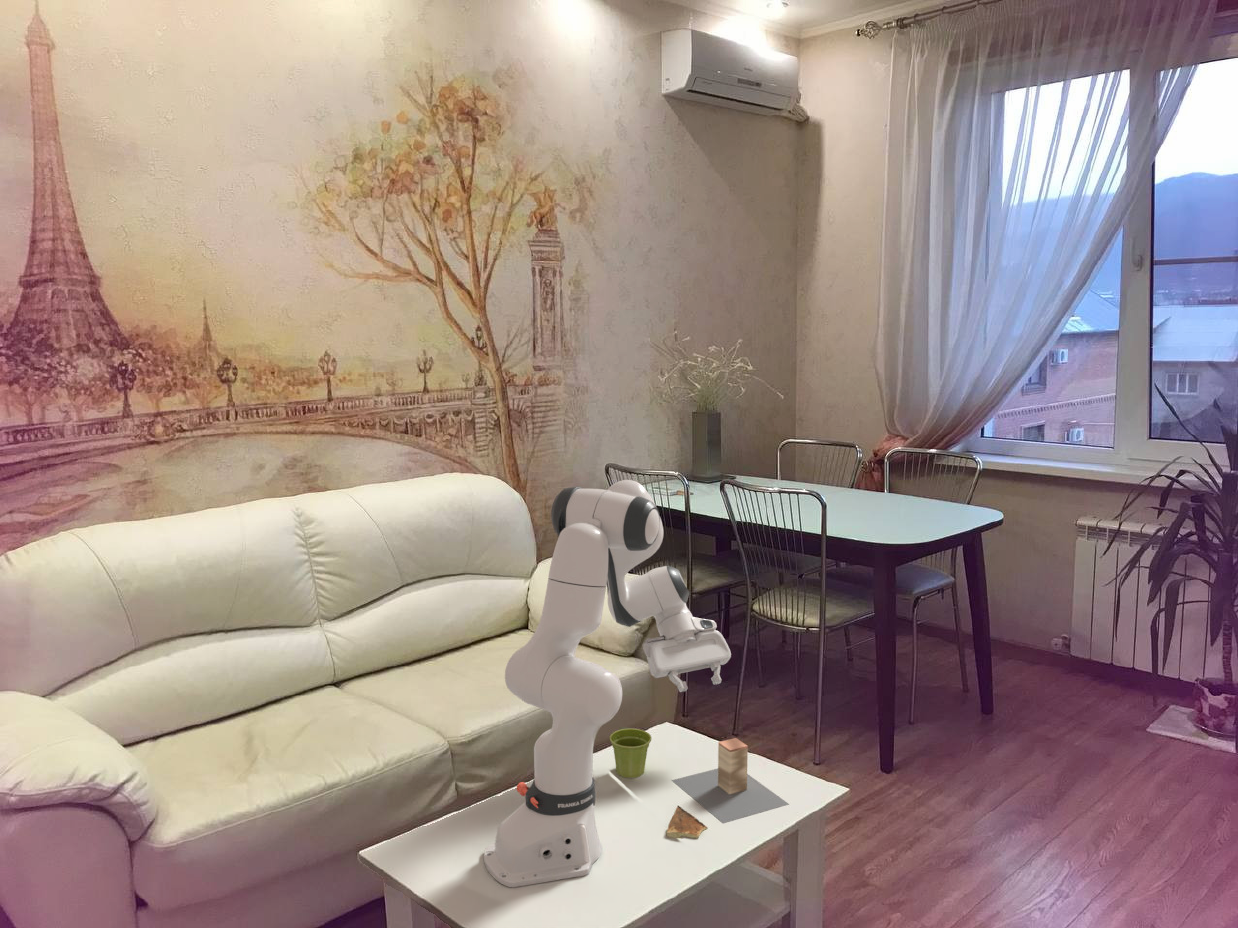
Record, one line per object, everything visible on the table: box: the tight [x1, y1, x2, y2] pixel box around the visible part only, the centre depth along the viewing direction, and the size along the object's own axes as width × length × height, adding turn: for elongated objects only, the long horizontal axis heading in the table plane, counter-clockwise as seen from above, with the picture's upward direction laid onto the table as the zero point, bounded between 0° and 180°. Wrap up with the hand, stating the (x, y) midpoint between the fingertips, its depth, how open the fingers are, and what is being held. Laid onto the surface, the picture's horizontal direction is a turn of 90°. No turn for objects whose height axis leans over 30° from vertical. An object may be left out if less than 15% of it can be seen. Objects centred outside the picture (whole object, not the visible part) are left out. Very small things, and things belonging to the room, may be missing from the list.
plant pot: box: [609, 728, 652, 779], centre depth 212 cm, size 9×9×9 cm
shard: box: [666, 805, 708, 839], centre depth 190 cm, size 11×8×2 cm
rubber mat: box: [671, 767, 790, 824], centre depth 203 cm, size 16×20×1 cm
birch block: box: [717, 737, 749, 794], centre depth 204 cm, size 4×4×10 cm
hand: (701, 686), depth 214 cm, fingers open, 8 cm apart
